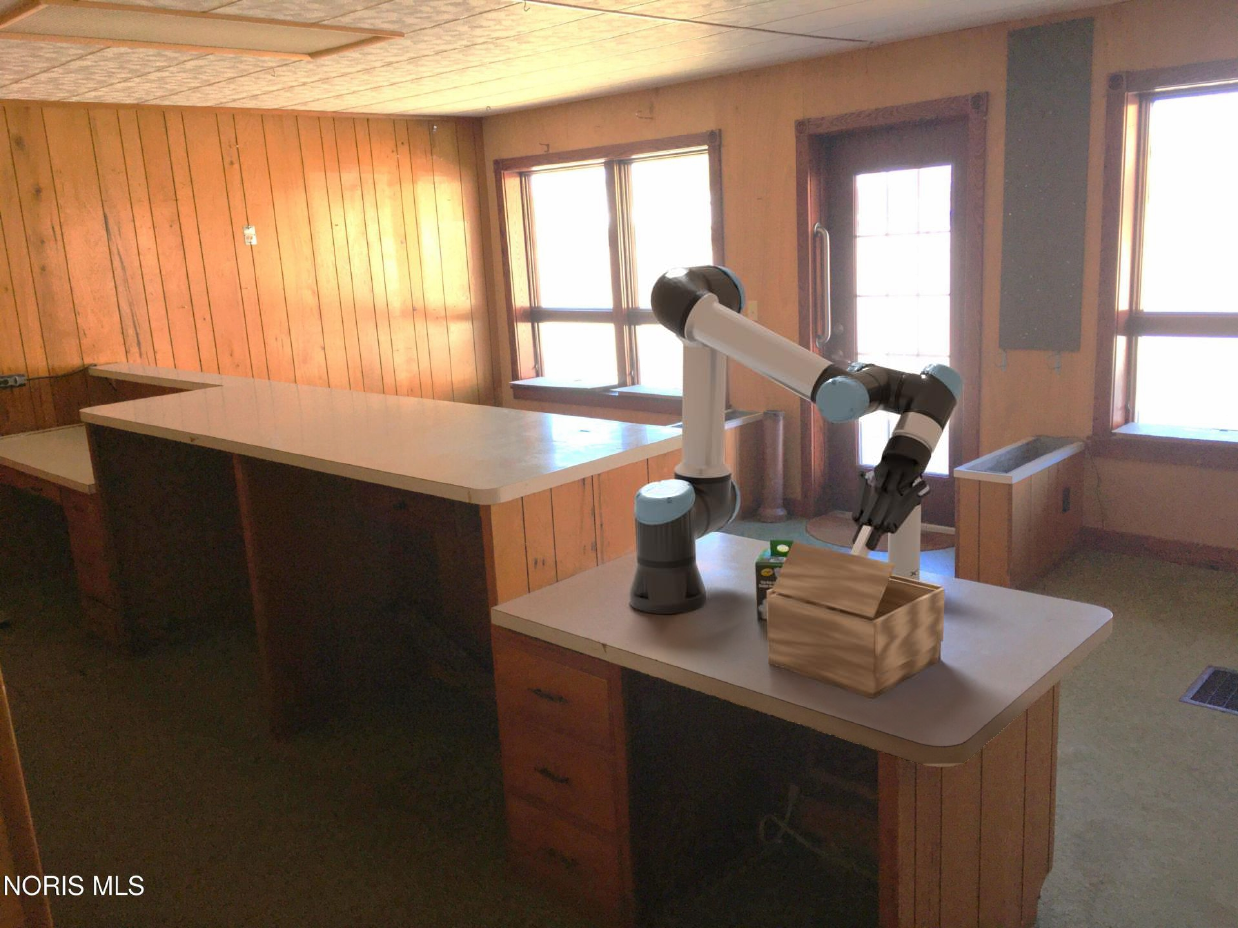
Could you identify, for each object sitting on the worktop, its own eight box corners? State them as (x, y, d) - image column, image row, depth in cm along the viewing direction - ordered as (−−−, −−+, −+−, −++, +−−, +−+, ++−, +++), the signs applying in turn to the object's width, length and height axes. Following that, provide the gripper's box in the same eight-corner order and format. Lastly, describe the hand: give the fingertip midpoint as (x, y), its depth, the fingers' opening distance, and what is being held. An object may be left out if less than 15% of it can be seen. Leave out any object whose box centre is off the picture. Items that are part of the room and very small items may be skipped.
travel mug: (922, 588, 199) (924, 490, 195) (888, 587, 200) (889, 490, 196) (919, 578, 205) (921, 483, 201) (886, 577, 206) (887, 483, 202)
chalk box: (812, 607, 191) (812, 532, 188) (805, 624, 183) (804, 546, 180) (764, 603, 194) (763, 530, 191) (755, 620, 186) (754, 543, 183)
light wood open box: (876, 699, 151) (877, 621, 149) (765, 662, 167) (765, 591, 164) (945, 658, 165) (947, 586, 162) (837, 627, 180) (838, 561, 178)
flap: (871, 616, 150) (893, 563, 152) (772, 589, 163) (793, 541, 166) (873, 618, 150) (894, 565, 152) (773, 591, 164) (795, 542, 166)
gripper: (954, 463, 166) (898, 583, 159) (885, 454, 176) (830, 567, 168) (938, 437, 162) (880, 560, 154) (869, 429, 171) (811, 544, 164)
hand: (854, 563), depth 161 cm, fingers closed
